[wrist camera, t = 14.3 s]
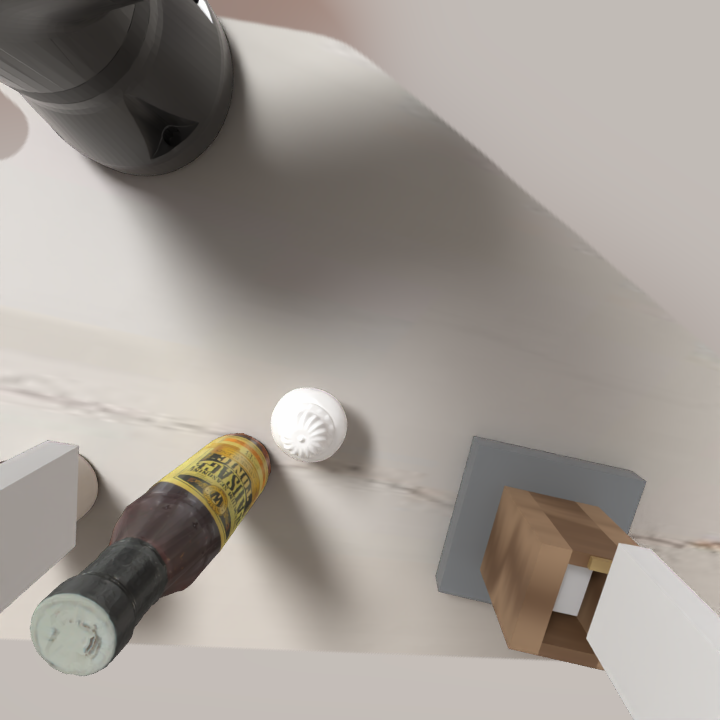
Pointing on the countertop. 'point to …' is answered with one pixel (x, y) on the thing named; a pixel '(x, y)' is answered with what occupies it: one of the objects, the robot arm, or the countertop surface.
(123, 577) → the sauce bottle
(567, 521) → the brown hollow block
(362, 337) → the countertop surface
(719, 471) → the countertop surface
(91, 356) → the countertop surface
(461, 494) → the shaft stand
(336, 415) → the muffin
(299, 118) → the countertop surface
